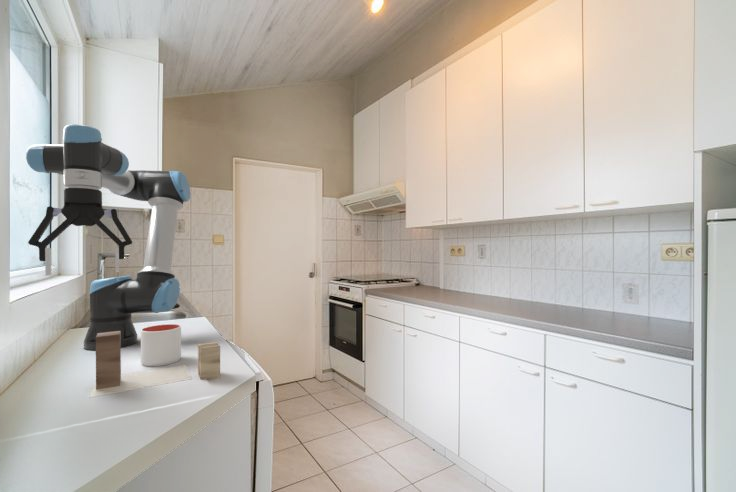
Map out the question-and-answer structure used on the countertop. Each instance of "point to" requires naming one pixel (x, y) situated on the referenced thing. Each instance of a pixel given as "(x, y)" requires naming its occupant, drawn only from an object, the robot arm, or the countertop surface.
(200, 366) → the beech block
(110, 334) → the walnut block
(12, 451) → the countertop surface
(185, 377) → the board
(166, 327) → the cup
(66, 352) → the countertop surface
